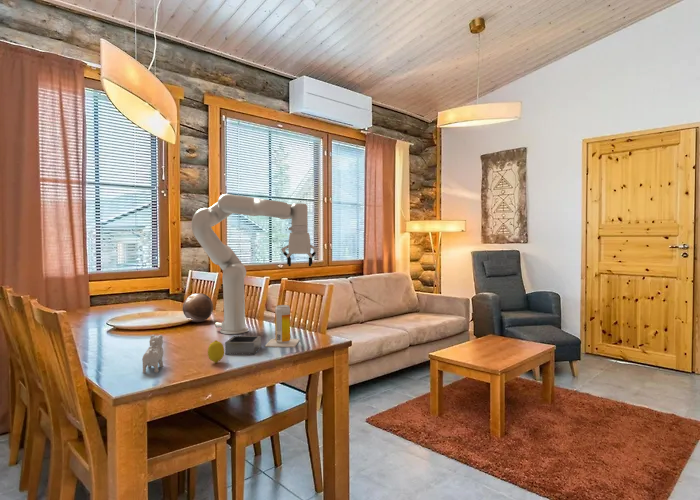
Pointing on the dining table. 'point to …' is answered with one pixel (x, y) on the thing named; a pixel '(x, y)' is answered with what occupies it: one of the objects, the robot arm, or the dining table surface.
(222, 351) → the lemon
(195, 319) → the wooden sphere
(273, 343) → the tile pad
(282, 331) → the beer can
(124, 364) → the dining table surface
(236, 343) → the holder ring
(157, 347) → the white dog figurine
